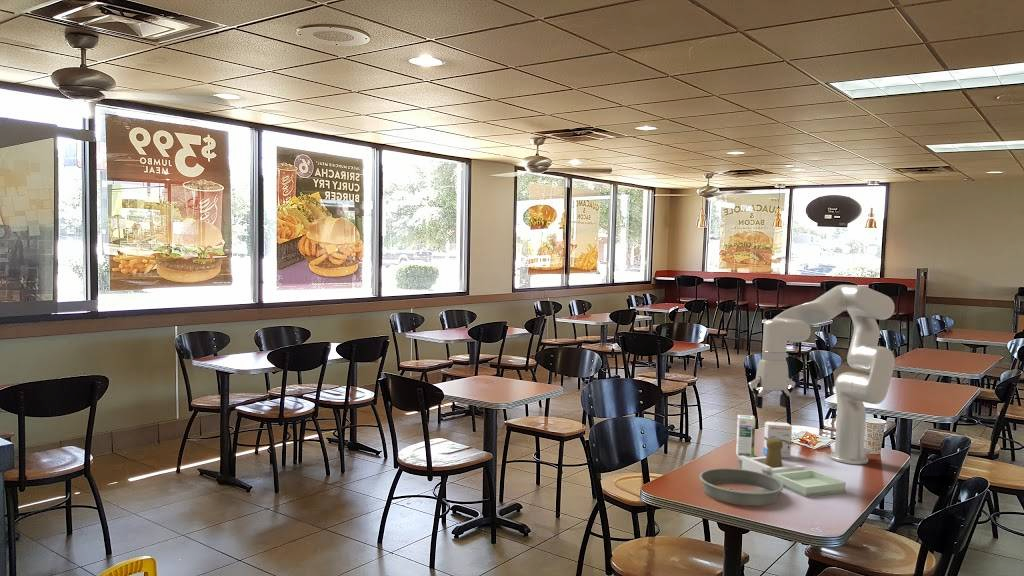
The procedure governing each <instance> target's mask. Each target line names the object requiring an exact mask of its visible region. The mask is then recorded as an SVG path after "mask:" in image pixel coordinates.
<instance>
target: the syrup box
mask: <svg viewBox="0 0 1024 576" xmlns="http://www.w3.org/2000/svg"><path fill="white" fill-rule="evenodd" d="M736 425H737V427H736V446H735V447H736V448H735V449H736V450H735V453H736V456H737V458H738V456H746V457H748V458H751V457H755V440H756V417H755V415H745V414H738V415H737V424H736Z"/></svg>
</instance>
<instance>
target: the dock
mask: <svg viewBox="0 0 1024 576" xmlns="http://www.w3.org/2000/svg"><path fill="white" fill-rule="evenodd" d="M737 459H738V460H737V469H743V470H749V471H755V472H759V473H763V474H766V475H769V476H772V477H773V474H775V473H783V472H792V471H801V470H806V466H804V465H802V464H798V465H797V464H795V465H787V466H782V467H777V468H772V467H770V466H767V465H765V461H766V455H763V456H754V457H751V458H748V457H746V456H738V457H737Z"/></svg>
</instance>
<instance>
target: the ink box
mask: <svg viewBox="0 0 1024 576" xmlns="http://www.w3.org/2000/svg"><path fill="white" fill-rule="evenodd" d="M792 427H793V426H792V425H791V424H789V423H788V422H779V421H766V422H764V435H763V436H764V437H763V454H764V456H767V450H768V448H767V445H766V442H767V440H768V439H771V438H774V439H779V440H781V441H782V444H783V447H782V449H781V458H789V459H790V458H791V451H792V432H793V431H792V430H793V429H792Z"/></svg>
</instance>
